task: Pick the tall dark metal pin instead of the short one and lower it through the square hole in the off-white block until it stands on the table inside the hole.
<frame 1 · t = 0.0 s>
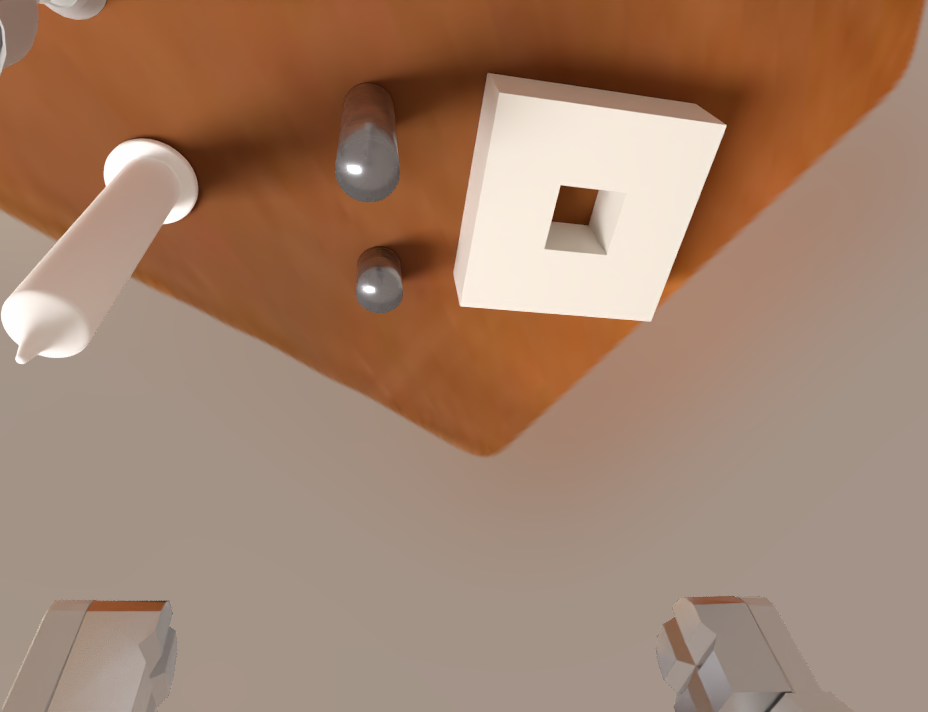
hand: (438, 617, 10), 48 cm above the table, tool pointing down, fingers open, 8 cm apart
long pin: (368, 109, 52), on the table
candle: (154, 180, 53), on the table
short pin: (379, 266, 60), on the table
hole block: (567, 193, 58), on the table
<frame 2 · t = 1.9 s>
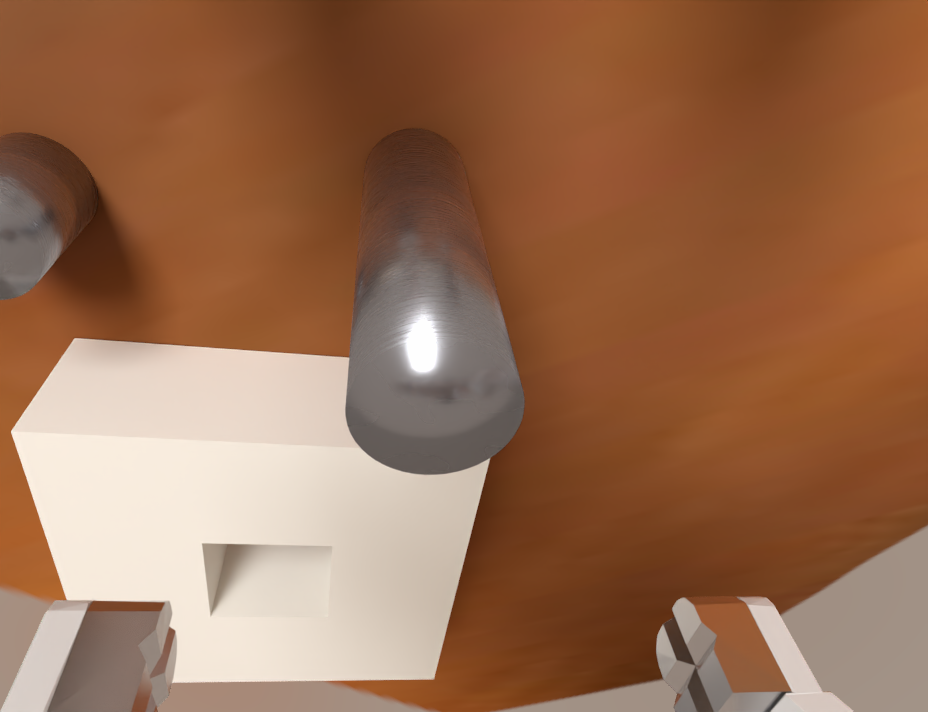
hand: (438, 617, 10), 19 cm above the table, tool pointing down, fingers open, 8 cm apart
long pin: (414, 179, 26), on the table
short pin: (40, 185, 24), on the table
hole block: (285, 486, 35), on the table
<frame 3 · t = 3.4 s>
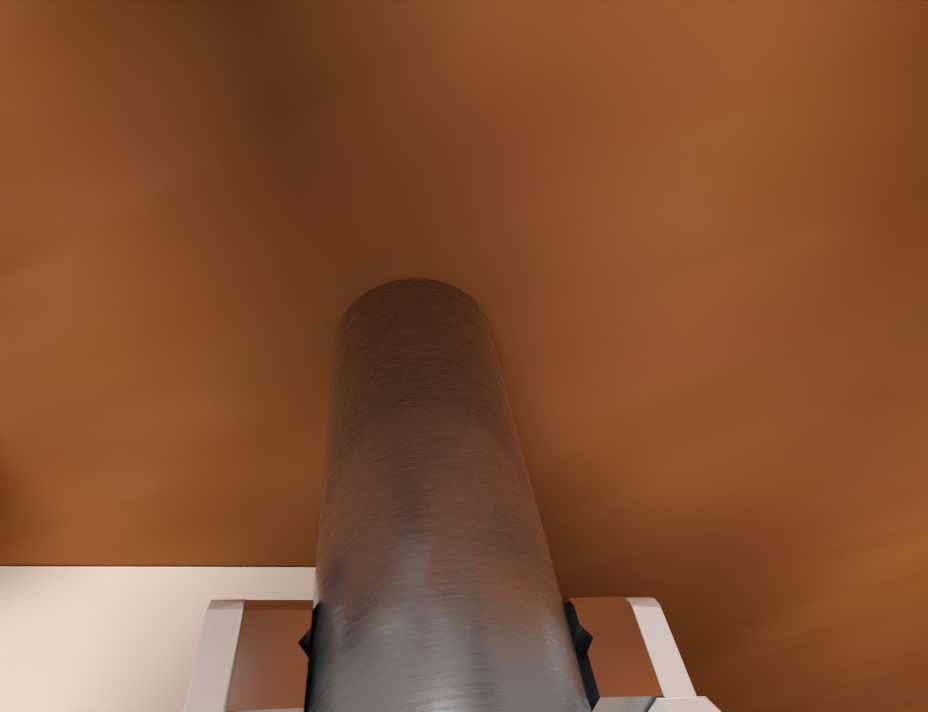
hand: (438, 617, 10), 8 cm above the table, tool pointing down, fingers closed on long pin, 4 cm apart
long pin: (414, 347, 16), on the table, touching gripper
hole block: (238, 706, 26), on the table
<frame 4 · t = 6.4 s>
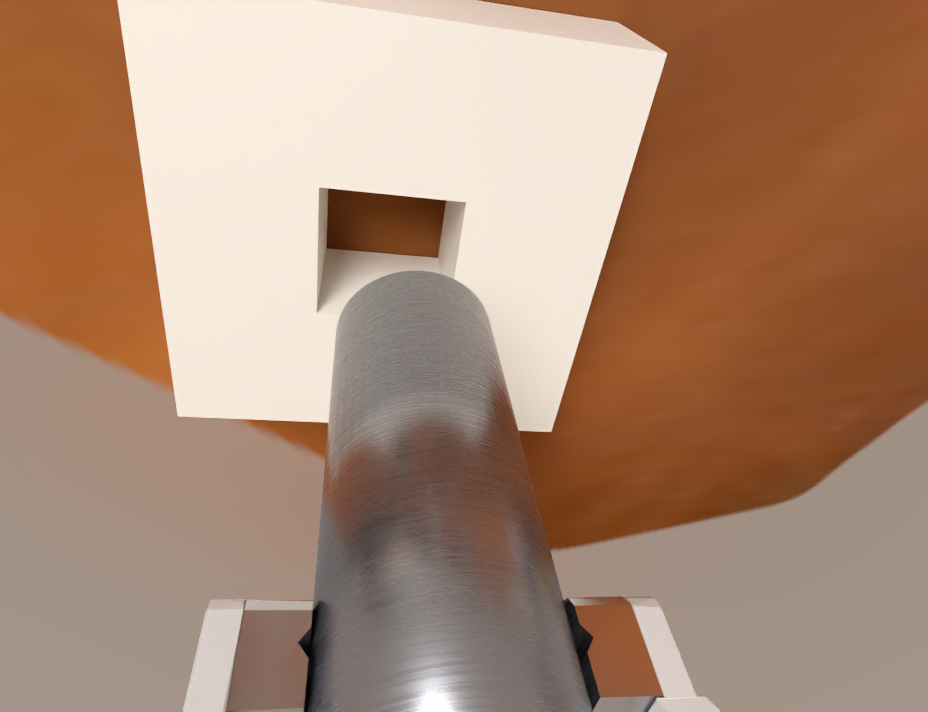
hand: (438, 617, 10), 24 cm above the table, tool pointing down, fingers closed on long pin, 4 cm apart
long pin: (414, 338, 17), point 16 cm above the table, touching gripper
hole block: (387, 201, 31), on the table
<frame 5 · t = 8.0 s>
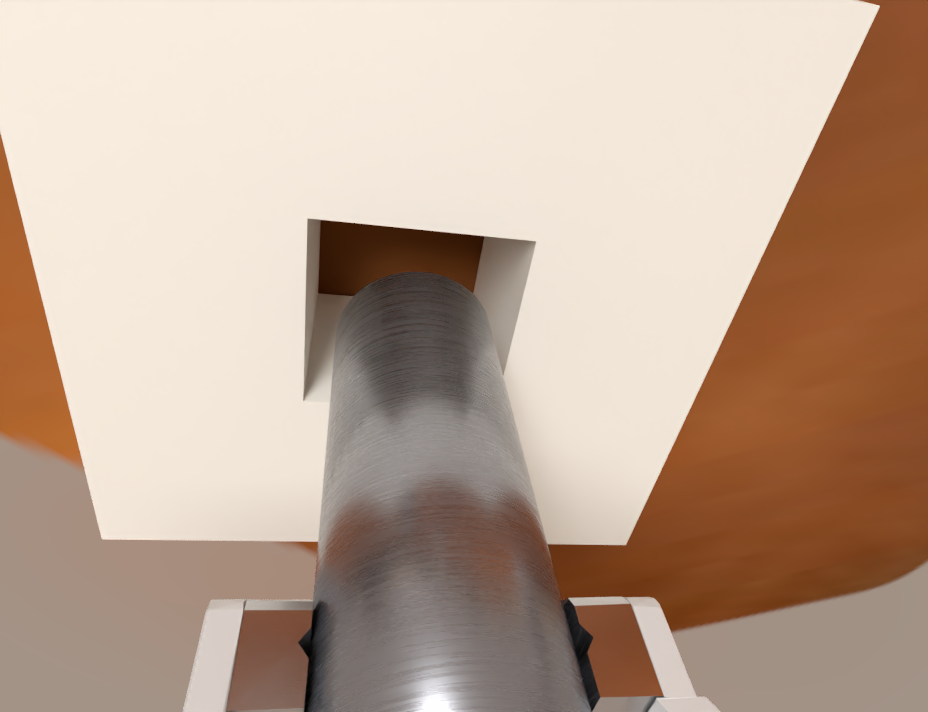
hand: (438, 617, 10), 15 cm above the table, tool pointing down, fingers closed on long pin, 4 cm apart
long pin: (414, 339, 17), point 7 cm above the table, touching gripper
hole block: (404, 229, 22), on the table
when the fingers open (9 cm above the table, at t = 9.4 s): long pin drops 1 cm, resting in hole block.
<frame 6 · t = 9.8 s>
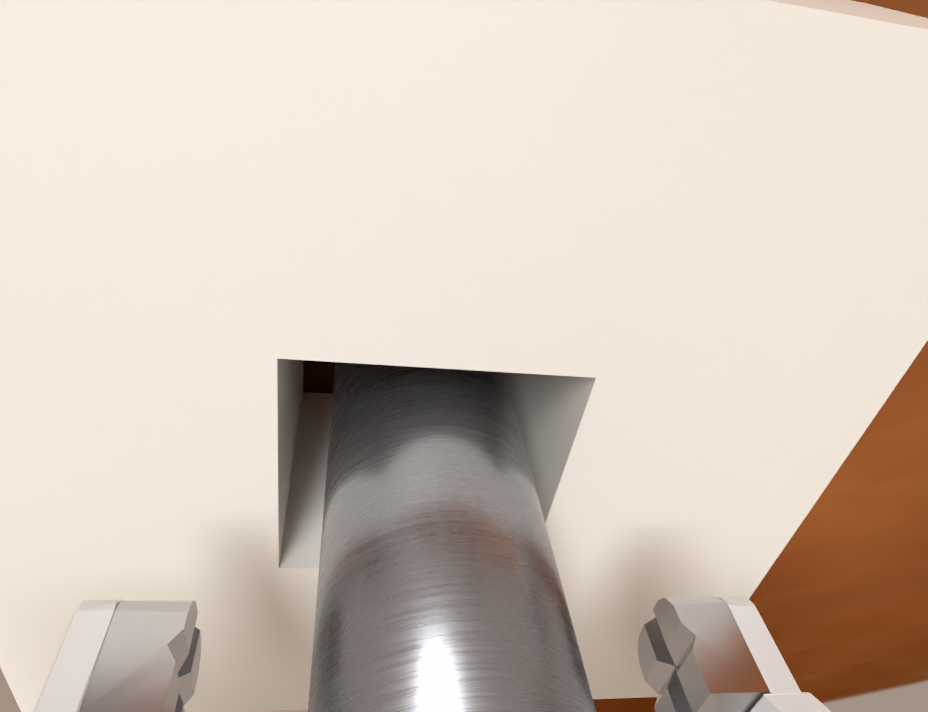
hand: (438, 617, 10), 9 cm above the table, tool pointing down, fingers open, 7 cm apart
long pin: (413, 316, 18), resting in hole block
hole block: (410, 317, 18), on the table
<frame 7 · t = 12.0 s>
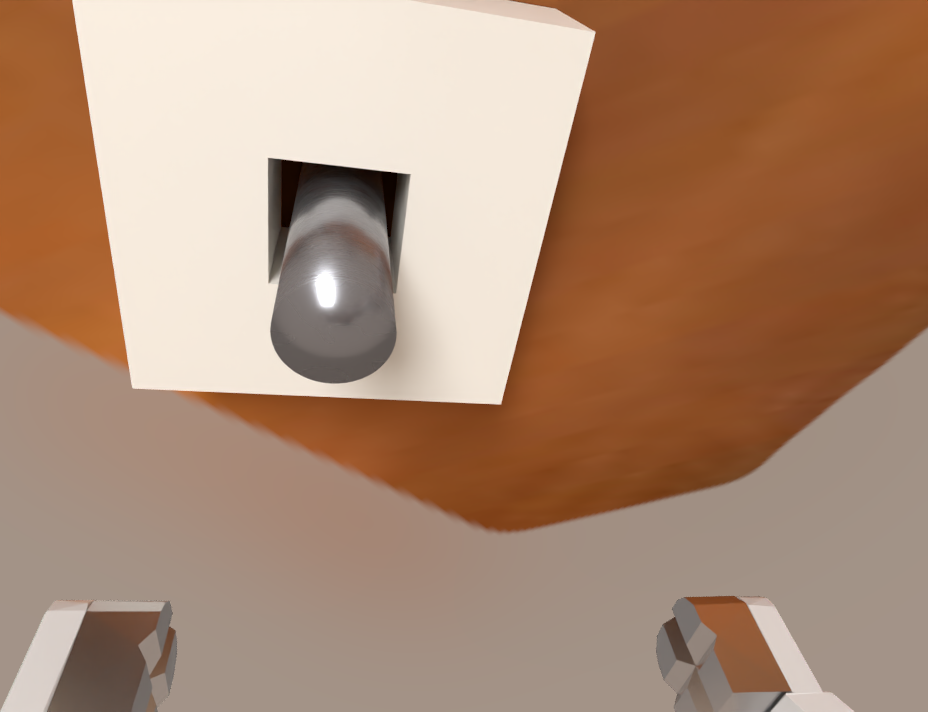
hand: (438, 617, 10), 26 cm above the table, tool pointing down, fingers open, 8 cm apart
long pin: (341, 179, 32), resting in hole block
hole block: (339, 179, 32), on the table
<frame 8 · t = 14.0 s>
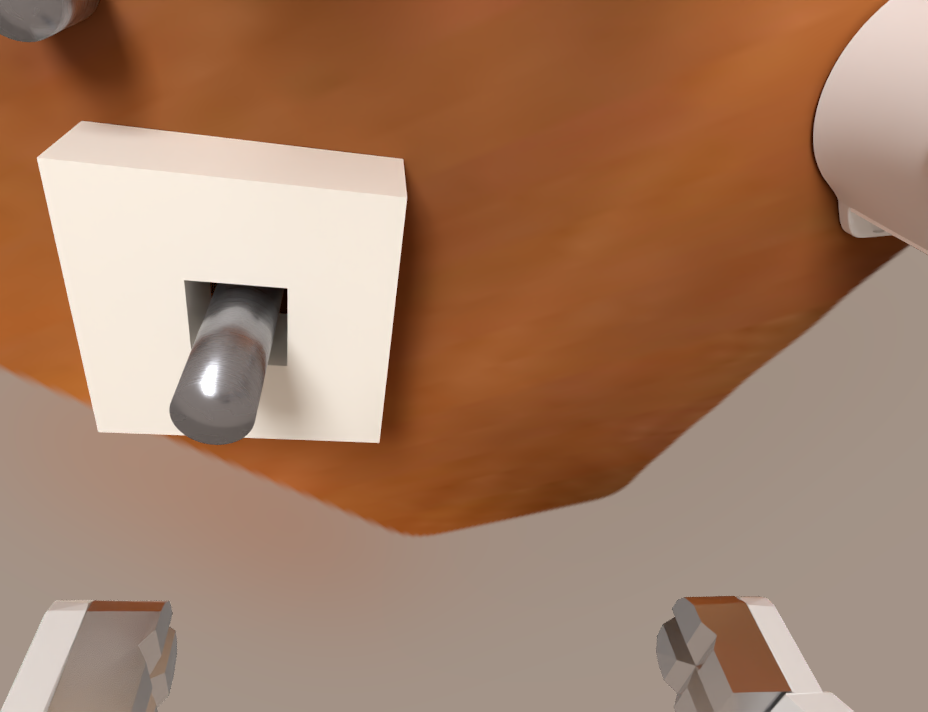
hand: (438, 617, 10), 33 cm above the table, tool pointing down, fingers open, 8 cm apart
long pin: (255, 275, 43), resting in hole block
hole block: (253, 275, 43), on the table
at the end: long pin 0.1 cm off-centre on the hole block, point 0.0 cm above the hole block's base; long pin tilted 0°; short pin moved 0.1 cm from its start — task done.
